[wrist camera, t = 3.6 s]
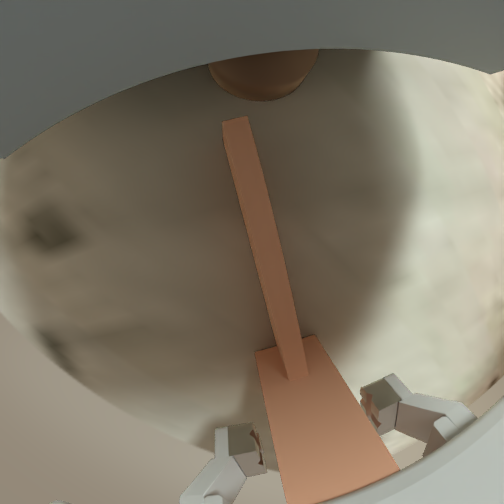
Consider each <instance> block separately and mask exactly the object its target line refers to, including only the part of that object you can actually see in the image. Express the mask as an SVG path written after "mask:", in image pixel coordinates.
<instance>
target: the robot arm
mask: <svg viewBox="0 0 504 504" xmlns="http://www.w3.org/2000/svg"><path fill="white" fill-rule="evenodd" d="M360 395H361V396H362V399H361V401H360V405H361V408H362V409H363V411H364V413H365V414H366V416H367V417H368V419H369V421H371V424H372V425H373V427H374V429H375V430H376V432H377V433H378V435H379V436H380V435H382V434H385V433H387V432H389V431H391V430H393V429H395V430H397V431H399V432H402V433H404V434H406V435H408V436H411V437H413V438H416V439H418V440H421V441H423V442H425V443H427V445H426V448H425V450H424V453H423V458H421V459H420V460H418V461H416V462H415V463H413V464H411V465H409V466H407V467H405V468H404V469H402V470H400V471H398V472H396V473H394V474H392V475H390V476H388V477H386V478H384V479H382V480H379V481H377V482H375V483H373V484H370V485H368V486H366V487H363V488H361V489H358V490H356V491H353V492H351V493H348V494H345V495H342V496H340V497H337V498H334V499H331V500H328V501H324V502H321V503H318V504H504V396H503V397H502V398H501V399H500V400H499V401H497V402H496V403H495V404H494V405H493V406H492V407H491V408H490V409H489V410H488V411H486V412H485V413H484V414H483V415H482V416H481V417H479V418H477V417H476V416H475V415H474V414H473V413H472V412H471V411H470V410H469V409H468V408H467V407H466V406H465V405H464V404H463V403H461V402H456V401H451V400H446V399H441V398H437V397H432V396H428V395H424V394H419V393H414V394H413V393H412V392H411V391H410V390H409V389H408V388H407V387H406V386H405V385H404V384H403V382H402V381H401V380H400V379H399V378H398V377H397V376H396V375H395V374H393V373H392V374H390V375H388V376H386V377H384V378H382V379H379V380H377V381H375V382H372V383H370V384H368V385H366V386H363V387H361V389H360ZM263 453H264V451H263V446H262V442H261V439H260V436H259V434H258V433H256V427H255V425H254V423H253V422H250V423H244V424H239V425H233V426H227V427H221V428H216V430H215V458H214V459H211V460H210V461H209V462H208V463H207V465H206V466H205V467H204V468H203V470H202V471H201V472H200V473H199V474H198V476H197V477H196V478H195V479H194V480H193V482H192V483H191V484H190V485H189V486H188V487H187V489H186V490H185V491H184V492H183V493H182V494H181V495H180V501H179V504H232V503H233V502H234V500H235V498H236V497H237V495H238V493H239V491H240V489H241V488H242V486H243V484H244V482H245V480H246V479H247V478H246V477H249V476H255V475H260V474H264V473H267V469H266V463H265V459H264V457H263ZM50 504H71V503H68V502H65V501H60V500H57V501H54V502H51V503H50Z"/></svg>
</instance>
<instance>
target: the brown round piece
mask: <svg viewBox="0 0 504 504" xmlns="http://www.w3.org/2000/svg"><path fill="white" fill-rule="evenodd" d="M317 57H318V49H304V50H290V51H279V52H270V53H262V54H255V55H248V56H242V57H236V58H231V59H226V60H221V61H216V62H212V63H208V66H209V70H210V73H211V75H212V77H213V79H214V80H215V81H216V83H217V84H218V85H219V86H220V87H221V88H223V89H224V90H225V91H227V92H228V93H230V94H232V95H234V96H236V97H239V98H242V99H246V100H251V101H271V100H275V99H279V98H282V97H284V96H286V95H288V94H290V93H291V92H293V91H294V90H295V89H296V88H297V87H298V86H299V85H300V84H301V83H302V81H303V80H304V78H305V77H306V75H307V74H308V73H309V71H310V70H311V68H312V67H313V66H314V64H315V62H316V60H317Z"/></svg>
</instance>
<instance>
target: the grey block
mask: <svg viewBox="0 0 504 504" xmlns="http://www.w3.org/2000/svg"><path fill="white" fill-rule="evenodd" d="M304 49H363V50H378V51H388V52H397V53H404V54H411V55H417V56H423V57H428V58H433V59H438V60H442V61H447V62H451V63H455V64H459V65H462V66H466V67H469V68H473V69H476V70H479V71H482V72H485V73H488V74H493V73H496V72H500V71H503V70H504V0H0V158H3V159H5V158H6V157H7V156H9V155H10V154H11V153H13V152H14V151H16V150H17V149H18V148H20V147H21V146H22V145H24V144H25V143H27V142H28V141H30V140H31V139H33V138H34V137H36V136H37V135H39V134H40V133H42V132H43V131H45V130H47V129H48V128H50V127H52V126H53V125H55V124H57V123H58V122H60V121H62V120H64V119H65V118H67V117H69V116H71V115H73V114H74V113H76V112H78V111H80V110H82V109H84V108H86V107H88V106H90V105H92V104H94V103H96V102H98V101H100V100H103V99H105V98H107V97H109V96H112V95H114V94H116V93H119V92H121V91H123V90H126V89H128V88H131V87H133V86H136V85H139V84H141V83H144V82H147V81H150V80H152V79H155V78H158V77H161V76H164V75H168V74H171V73H174V72H177V71H181V70H184V69H188V68H192V67H195V66H199V65H203V64H208V63H212V62H216V61H221V60H226V59H231V58H236V57H242V56H248V55H255V54H262V53H270V52H279V51H290V50H304Z"/></svg>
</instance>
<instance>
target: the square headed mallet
mask: <svg viewBox="0 0 504 504" xmlns="http://www.w3.org/2000/svg"><path fill="white" fill-rule="evenodd" d="M222 132H223V142H224V146H225V150H226V154H227V158H228V161H229V165H230V169H231V173H232V177H233V181H234V184H235V188H236V192H237V196H238V200H239V203H240V207H241V211H242V215H243V219H244V223H245V226H246V230H247V234H248V238H249V242H250V245H251V249H252V253H253V257H254V261H255V264H256V268H257V272H258V276H259V280H260V284H261V287H262V291H263V295H264V299H265V303H266V306H267V310H268V314H269V318H270V322H271V326H272V329H273V333H274V337H275V341H276V345H277V346H275V347H272V348H268V349H264V350H261V351H257V352H254V353H255V358H256V363H257V368H258V372H259V377H260V382H261V387H262V392H263V397H264V402H265V407H266V411H267V416H268V421H269V425H270V430H271V435H272V439H273V444H274V449H275V453H276V458H277V462H278V467H279V471H280V476H281V480H282V484H283V489H284V493H285V497H286V502H287V504H318V503H321V502H324V501H328V500H331V499H334V498H337V497H340V496H342V495H345V494H348V493H351V492H353V491H356V490H358V489H361V488H363V487H366V486H368V485H370V484H373V483H375V482H377V481H379V480H382V479H384V478H386V477H388V476H390V475H392V474H394V473H396V472H398V471H400V469H399V467H398V465H397V464H396V462H395V461H394V459H393V457H392V456H391V454H390V453H389V451H388V449H387V448H386V446H385V445H384V443H383V441H382V440H381V438H380V437H379V435H378V433H377V432H376V430H375V429H374V427H373V425H372V424H371V422H370V421H369V419H368V417H367V416H366V414H365V413H364V411H363V409H362V408H361V406H360V405H359V403H358V402H357V400H356V398H355V397H354V395H353V394H352V392H351V390H350V389H349V387H348V386H347V384H346V383H345V381H344V379H343V378H342V376H341V375H340V373H339V372H338V370H337V368H336V367H335V365H334V364H333V362H332V361H331V359H330V357H329V356H328V354H327V353H326V351H325V350H324V348H323V346H322V345H321V343H320V342H319V340H318V339H317V337H316V336H315V334H314V335H311V336H308V337H305V338H301V333H300V329H299V324H298V319H297V314H296V310H295V305H294V301H293V296H292V292H291V287H290V283H289V278H288V274H287V269H286V265H285V261H284V256H283V252H282V248H281V244H280V239H279V235H278V231H277V227H276V223H275V219H274V215H273V211H272V207H271V203H270V199H269V195H268V191H267V187H266V183H265V179H264V175H263V171H262V168H261V164H260V160H259V156H258V153H257V149H256V145H255V141H254V138H253V134H252V130H251V127H250V123H249V120H248V116H243V117H239V118H234V119H230V120H226V121H222Z"/></svg>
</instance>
